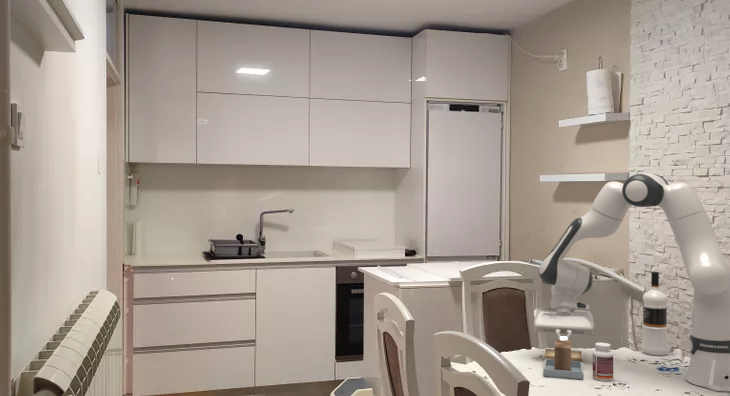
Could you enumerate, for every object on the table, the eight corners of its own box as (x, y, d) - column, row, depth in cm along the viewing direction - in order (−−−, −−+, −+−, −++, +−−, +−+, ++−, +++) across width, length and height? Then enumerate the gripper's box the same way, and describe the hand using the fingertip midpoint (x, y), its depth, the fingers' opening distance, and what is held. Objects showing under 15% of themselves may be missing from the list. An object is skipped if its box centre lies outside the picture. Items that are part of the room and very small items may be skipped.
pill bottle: (617, 379, 199) (617, 344, 199) (605, 382, 196) (605, 347, 196) (600, 374, 204) (600, 341, 204) (588, 378, 201) (588, 343, 201)
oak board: (581, 361, 221) (581, 351, 221) (582, 368, 211) (582, 358, 211) (545, 358, 225) (545, 348, 225) (544, 365, 215) (544, 355, 215)
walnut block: (570, 340, 209) (571, 348, 201) (570, 367, 210) (570, 376, 201) (555, 339, 211) (554, 347, 202) (554, 366, 211) (554, 374, 203)
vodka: (666, 357, 226) (666, 274, 225) (638, 354, 231) (638, 272, 231) (670, 352, 233) (671, 271, 233) (643, 348, 239) (644, 269, 238)
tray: (582, 369, 211) (582, 361, 211) (583, 380, 198) (583, 372, 198) (544, 366, 214) (544, 358, 214) (543, 376, 202) (543, 369, 202)
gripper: (533, 302, 226) (531, 335, 217) (594, 305, 220) (595, 339, 211) (534, 312, 230) (532, 345, 221) (593, 315, 224) (594, 349, 215)
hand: (563, 342), depth 216 cm, fingers closed
